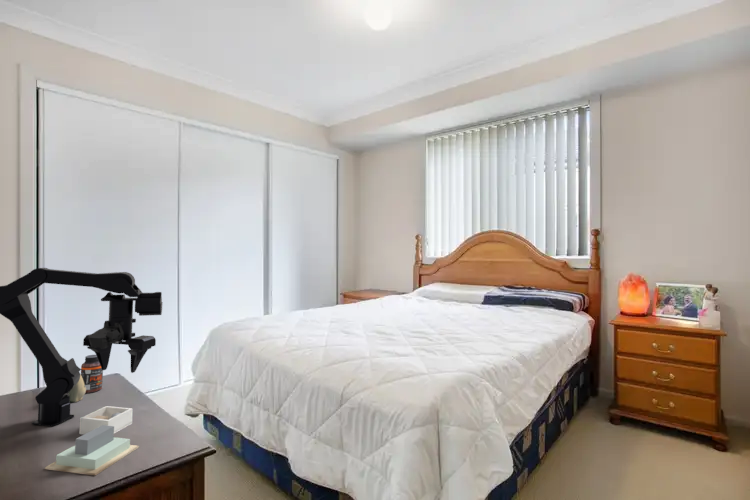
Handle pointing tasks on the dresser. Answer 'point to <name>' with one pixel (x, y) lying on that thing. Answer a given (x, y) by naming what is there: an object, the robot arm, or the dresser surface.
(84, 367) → the supplement bottle
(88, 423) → the storage box
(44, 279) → the robot arm
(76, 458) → the lid
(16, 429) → the dresser surface
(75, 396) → the ghost figurine
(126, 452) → the cork mat
